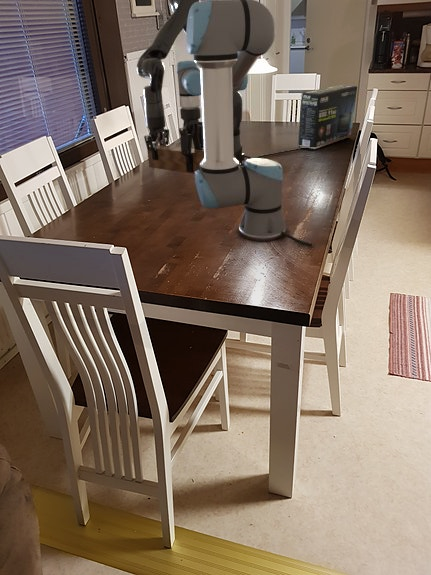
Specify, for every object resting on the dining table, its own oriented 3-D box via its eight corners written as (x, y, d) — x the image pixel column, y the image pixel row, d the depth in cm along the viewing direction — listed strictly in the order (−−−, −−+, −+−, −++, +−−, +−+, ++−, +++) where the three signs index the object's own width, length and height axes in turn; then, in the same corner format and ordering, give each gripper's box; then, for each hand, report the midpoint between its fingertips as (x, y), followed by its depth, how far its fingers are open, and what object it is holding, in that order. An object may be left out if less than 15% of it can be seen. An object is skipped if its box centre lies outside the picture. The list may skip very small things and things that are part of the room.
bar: (205, 170, 182) (204, 150, 178) (198, 174, 178) (197, 153, 174) (156, 164, 192) (154, 144, 188) (149, 167, 189) (146, 147, 185)
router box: (314, 151, 231) (318, 94, 217) (296, 148, 237) (299, 92, 224) (352, 138, 251) (358, 85, 238) (335, 135, 258) (340, 83, 245)
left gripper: (158, 110, 185) (162, 153, 194) (135, 117, 175) (141, 161, 184) (173, 111, 182) (176, 154, 191) (151, 118, 171) (156, 164, 180)
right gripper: (194, 102, 177) (198, 162, 189) (167, 111, 164) (173, 174, 176) (211, 103, 174) (213, 164, 186) (185, 112, 161) (189, 177, 173)
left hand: (159, 158), depth 187 cm, fingers closed on bar, 5 cm apart
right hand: (193, 169), depth 181 cm, fingers closed on bar, 5 cm apart
